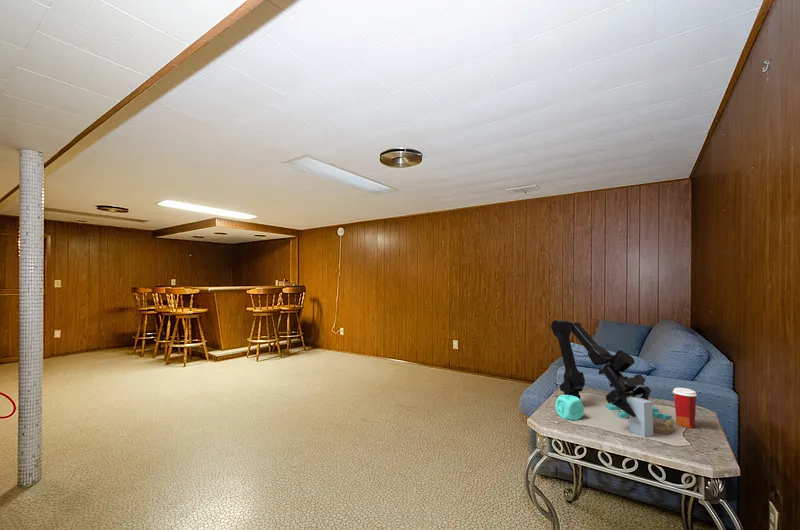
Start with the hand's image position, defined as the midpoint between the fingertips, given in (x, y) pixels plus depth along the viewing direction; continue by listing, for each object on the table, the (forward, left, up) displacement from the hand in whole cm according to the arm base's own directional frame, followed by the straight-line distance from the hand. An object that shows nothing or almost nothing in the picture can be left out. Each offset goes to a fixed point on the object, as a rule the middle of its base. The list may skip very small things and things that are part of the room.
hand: (643, 415), depth 135 cm
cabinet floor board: (+6, +8, -7) cm, 13 cm away
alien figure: (+4, +27, -8) cm, 29 cm away
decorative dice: (-24, +10, -7) cm, 27 cm away
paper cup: (+19, +15, -7) cm, 25 cm away
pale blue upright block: (-1, +1, -7) cm, 7 cm away
